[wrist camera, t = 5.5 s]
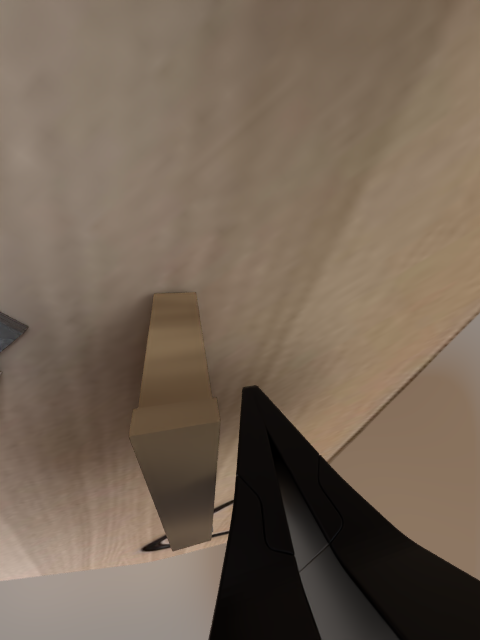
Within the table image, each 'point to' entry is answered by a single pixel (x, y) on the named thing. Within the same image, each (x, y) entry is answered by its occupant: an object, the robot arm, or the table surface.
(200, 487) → the tan wooden flat block
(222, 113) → the table surface
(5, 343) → the grey stepped block
